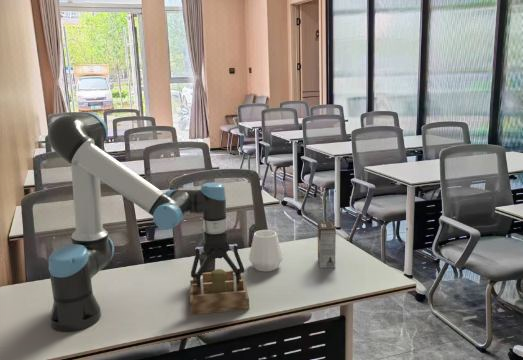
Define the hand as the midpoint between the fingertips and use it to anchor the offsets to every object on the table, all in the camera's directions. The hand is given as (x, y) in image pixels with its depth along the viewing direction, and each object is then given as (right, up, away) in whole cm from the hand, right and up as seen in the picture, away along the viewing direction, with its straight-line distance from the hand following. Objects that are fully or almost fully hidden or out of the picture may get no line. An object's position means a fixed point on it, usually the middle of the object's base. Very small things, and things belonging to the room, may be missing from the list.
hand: (219, 293), depth 162 cm
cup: (+16, +3, +31) cm, 35 cm away
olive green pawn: (0, -3, +1) cm, 3 cm away
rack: (0, -3, +5) cm, 6 cm away
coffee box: (+40, +5, +32) cm, 51 cm away
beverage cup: (-6, 0, +21) cm, 22 cm away
